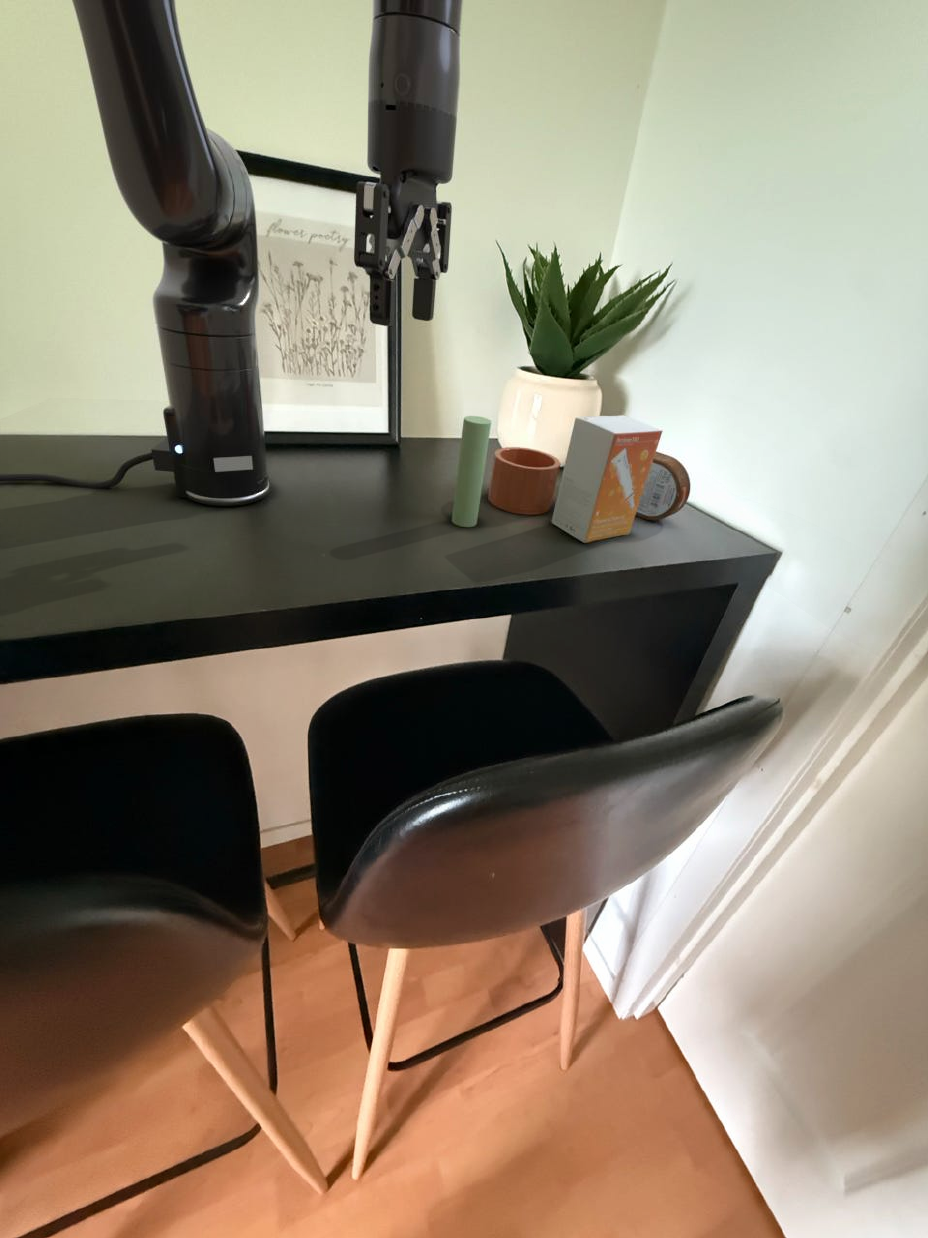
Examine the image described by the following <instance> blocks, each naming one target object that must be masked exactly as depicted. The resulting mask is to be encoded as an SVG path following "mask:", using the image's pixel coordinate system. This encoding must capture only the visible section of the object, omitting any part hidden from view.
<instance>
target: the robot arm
mask: <svg viewBox="0 0 928 1238" xmlns="http://www.w3.org/2000/svg"><path fill="white" fill-rule="evenodd" d="M71 3H72V6H73V8H74V12H75V16H76V20H77V23H78V26H79V31H80V34H81V38H82V43H83V47H84V51H85V56H86V60H87V64H88V65H87V66H88V69H89V73H90V78H91V82H92V87H93V91H94V96H95V100H96V101H95V102H96V105H97V110H98V114H99V119H100V124H101V128H102V132H103V133H102V134H103V138H104V142H105V146H106V150H107V154H108V159H109V162H110V166H111V170H112V173H113V177H114V180H115V183H116V186H117V188H118V190H119V194H120V196H121V197H122V199H123V202H124V204H125V205H126V208H127V209H128V210H129V212H130V213H131V215H132V217H133V218H134V219H135V220H136V222H137V223H138V224H139V225H140V226H141V227H142V228H143V229H144V230H145V231H146V232H147V233H148V234H149V235H150V236H152V237H153V238H155V239H156V240H158V241H159V242H161V246H162V256H163V257H162V258H163V267H162V268H163V269H162V273H161V277H160V280H159V283H158V285H157V287H156V288H155V290H154V291H153V294H152V309H153V315H154V321H155V326H156V332H157V333H156V334H157V338H158V343H159V344H158V345H159V350H160V355H161V356H160V357H161V362H162V367H163V373H164V380H165V385H166V391H167V398H168V404H169V405H167V406H166V407H165V408H163V412H162V415H163V421H164V426H165V432H166V437H165V438H164V439H163V440H161V441H160V442H159V443H157V444H156V445H155V446H154V447H152V449H150V452H148V453H144V454H141V455H137V456H135V457H132V458H130V459H128V460H127V461H125V462H124V463H122V464H121V465H120V467H119V468H118V470H117V471H116V473H115V475H114V476H113V477H112V478H110V479H108V480H104V481H96V482H93V481H84V480H78V479H73V478H69V477H63V476H60V475H54V474H45V473H44V474H43V473H0V482H22V481H23V482H47V483H55V484H60V485H66V486H70V487H77V488H78V487H80V488H86V489H87V488H88V489H108V488H111V487H115V486H117V485H118V484H119V483H121V482H122V480H123V479H124V478H125V475H126V474H127V472H128V471H129V470H130V469H132V468H134V467H135V466H137V465H140V464H143V463H145V462H148V461H152V463H153V467H154V470H155V471H159V472H169V473H173V478H174V482H175V483H174V484H175V490H176V496H177V497H178V498H184V499H185V498H186V499H188V500H190V501H192V502H195V503H198V504H203V505H207V506H216V507H217V506H218V507H235V506H243V505H248V504H252V503H256V502H258V501H261V500H264V499H265V498H266V497H268V495H269V494H270V482H269V473H268V463H267V450H266V441H265V440H266V439H265V427H264V426H265V425H264V413H263V400H262V389H261V387H262V386H261V376H260V364H259V351H258V338H257V337H258V336H257V325H256V315H257V314H256V313H257V307H258V302H259V296H260V273H259V272H260V269H259V247H258V231H257V230H258V227H257V213H256V212H257V211H256V205H255V197H254V191H253V186H252V182H251V179H250V175H249V173H248V170H247V167H246V166H245V163H244V162H243V160H242V158H241V156H240V155H239V154H238V151H236V150H235V148H234V147H233V146H232V144H230V143H229V141H227V140H226V139H225V138H224V137H223V136H221V135H220V134H219V133H217V132H215V131H214V130H212V129H210V128H209V127H206V124H205V121H204V117H203V115H202V112H201V109H200V105H199V102H198V99H197V96H196V91H195V88H194V84H193V80H192V76H191V73H190V70H189V66H188V62H187V61H188V60H187V58H186V54H185V50H184V45H183V41H182V35H181V31H180V26H179V19H178V12H177V5H176V0H71ZM463 9H464V0H372V22H371V23H372V24H371V28H372V29H371V37H370V46H369V54H368V55H369V56H368V78H367V79H368V83H367V85H368V87H367V89H368V90H367V91H368V92H367V155H366V156H367V157H366V159H367V160H366V161H367V162H366V163H367V167H368V169H369V170H370V171H371V172H372V173H374V174H376V175H378V176H379V182H371V181H358V182H357V184H356V188H355V213H354V214H355V216H354V217H355V219H354V243H353V244H354V245H353V247H354V250H353V261H354V262H353V263H354V265H355V266H356V267H357V268H362V269H363V270H364V271H365V274H366V276H369V310H368V311H369V321H370V322H371V323H372V324H374V325H379V326H384V327H391V326H392V325H394V321H395V299H396V298H395V295H396V280H393V279H394V278H395V275H396V273H397V270H398V267H399V265H400V262H401V260H402V259H405V258H406V257H408V258H409V259H410V260H411V261H410V262H411V264H412V269H413V273H414V276H415V277H414V278H413V286H412V287H413V291H412V306H411V307H412V308H411V309H412V310H411V315H412V318H413V319H414V320H418V321H425V322H430V321H432V320H433V319H434V316H435V315H434V312H435V299H436V289H437V287H436V285H437V281H439V280H440V278H441V274H446V273H447V272H448V270H449V264H450V263H449V262H450V247H451V231H452V230H451V229H452V228H451V227H452V213H453V206H452V203H451V202H449V201H441V200H437V187H438V185H439V184H441V185H445V184H449V183H450V182H451V180H452V179H453V173H454V159H455V158H454V157H455V147H456V137H457V136H456V135H457V123H458V109H459V100H460V99H459V98H460V88H461V87H460V86H461V85H460V84H461V34H462V21H463ZM369 235H370V237H369V240H368V236H369ZM368 243H369V244H370V250H369V251H367V246H368ZM386 258H387V259H386Z"/></svg>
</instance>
